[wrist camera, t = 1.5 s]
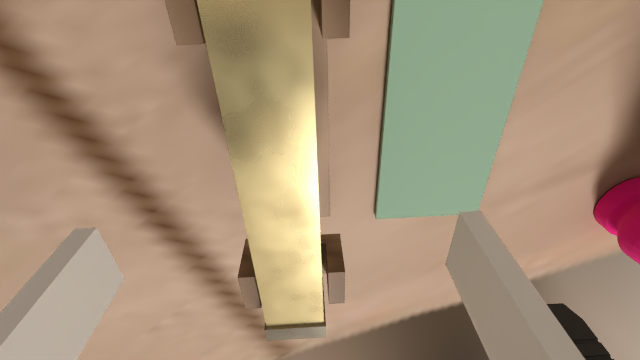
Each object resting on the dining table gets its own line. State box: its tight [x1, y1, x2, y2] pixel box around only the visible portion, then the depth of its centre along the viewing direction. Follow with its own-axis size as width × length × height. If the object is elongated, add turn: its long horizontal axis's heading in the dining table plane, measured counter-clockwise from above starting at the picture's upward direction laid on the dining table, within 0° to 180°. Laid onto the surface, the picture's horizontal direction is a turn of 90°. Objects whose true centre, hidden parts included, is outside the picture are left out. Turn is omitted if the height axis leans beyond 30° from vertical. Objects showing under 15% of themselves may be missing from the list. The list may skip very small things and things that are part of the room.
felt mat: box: [375, 0, 544, 219], centre depth 25 cm, size 10×24×1 cm, turn 2°
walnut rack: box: [165, 0, 350, 309], centre depth 20 cm, size 6×22×12 cm, turn 2°
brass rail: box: [197, 0, 326, 341], centre depth 16 cm, size 4×22×4 cm, turn 2°
